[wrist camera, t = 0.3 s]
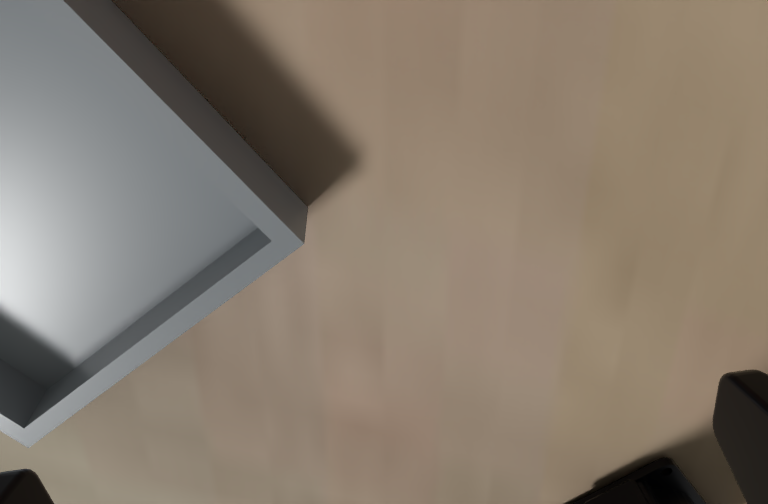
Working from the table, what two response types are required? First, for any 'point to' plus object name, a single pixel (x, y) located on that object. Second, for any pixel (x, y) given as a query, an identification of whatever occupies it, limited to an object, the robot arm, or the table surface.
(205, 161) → the tray
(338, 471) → the table surface
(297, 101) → the table surface
